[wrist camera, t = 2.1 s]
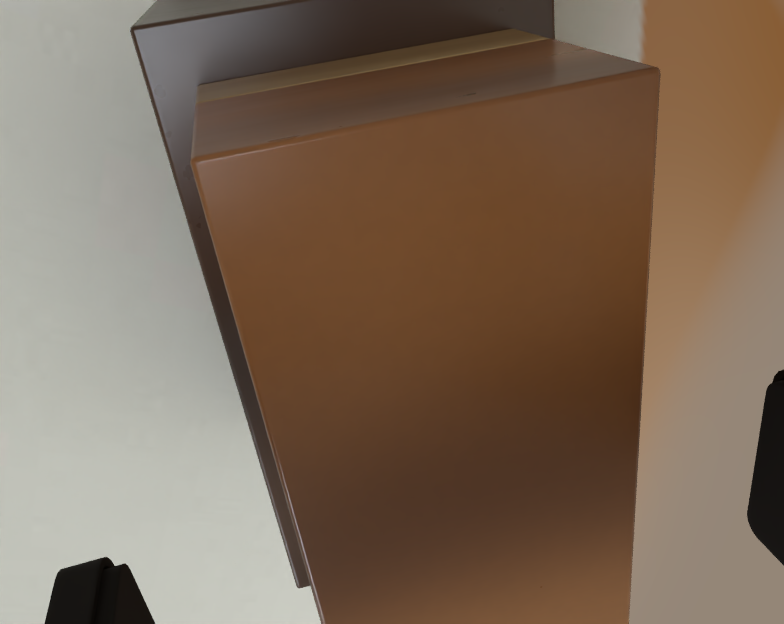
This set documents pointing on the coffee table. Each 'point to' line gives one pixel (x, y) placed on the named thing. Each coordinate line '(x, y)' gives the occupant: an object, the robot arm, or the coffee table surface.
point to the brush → (445, 318)
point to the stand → (269, 54)
